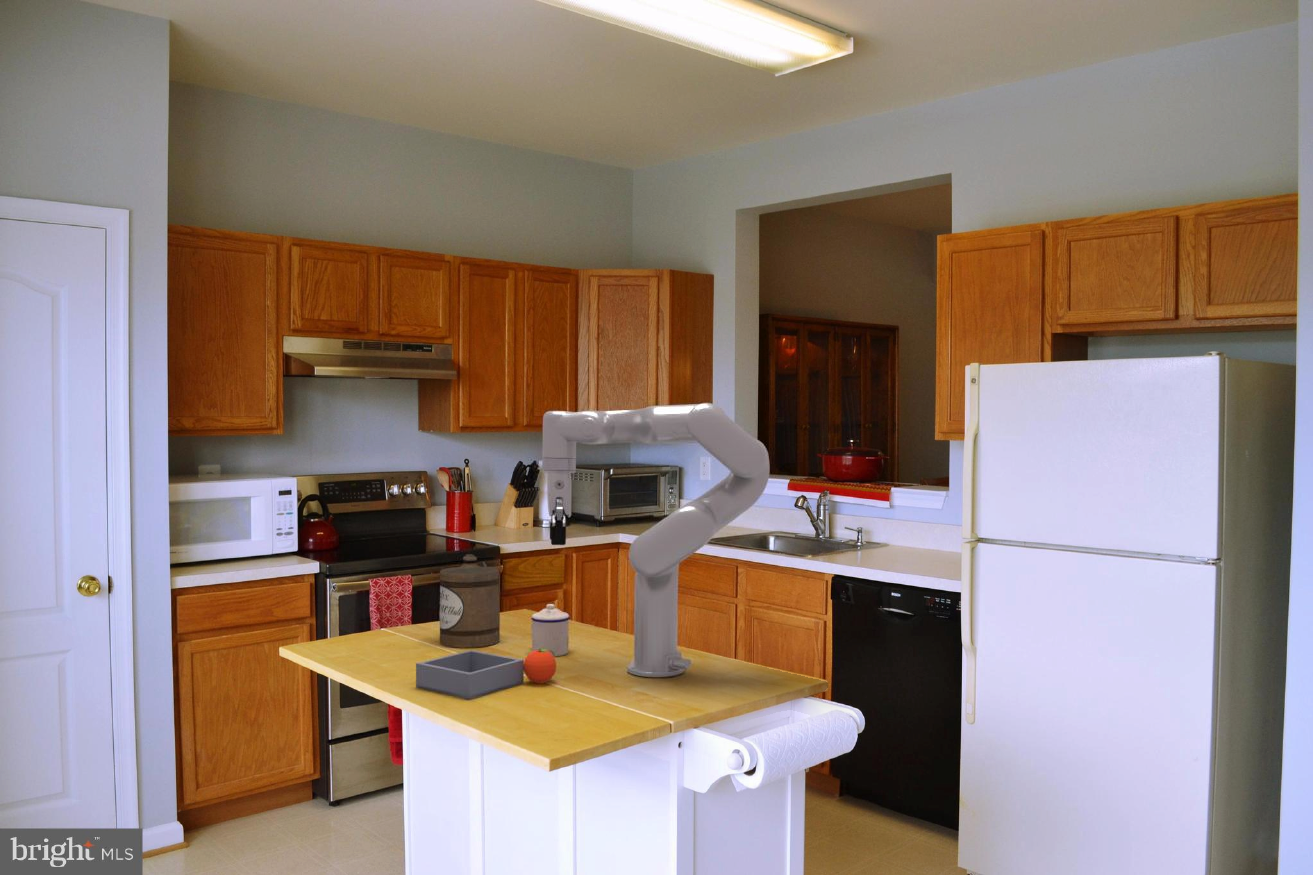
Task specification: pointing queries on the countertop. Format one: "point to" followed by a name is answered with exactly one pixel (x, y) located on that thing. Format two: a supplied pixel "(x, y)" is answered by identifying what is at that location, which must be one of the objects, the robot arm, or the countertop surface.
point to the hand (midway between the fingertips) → (557, 542)
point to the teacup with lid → (550, 630)
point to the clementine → (540, 666)
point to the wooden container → (469, 605)
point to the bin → (469, 674)
